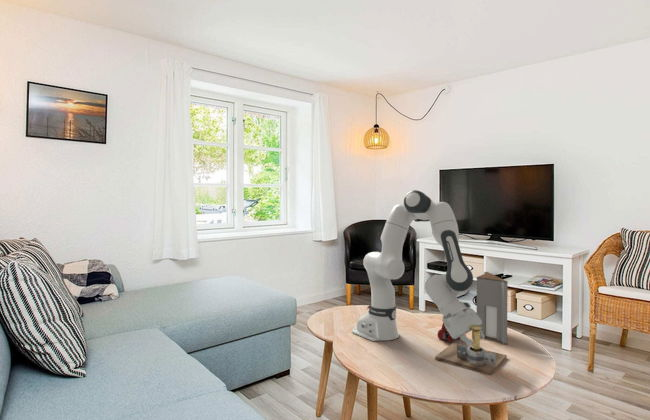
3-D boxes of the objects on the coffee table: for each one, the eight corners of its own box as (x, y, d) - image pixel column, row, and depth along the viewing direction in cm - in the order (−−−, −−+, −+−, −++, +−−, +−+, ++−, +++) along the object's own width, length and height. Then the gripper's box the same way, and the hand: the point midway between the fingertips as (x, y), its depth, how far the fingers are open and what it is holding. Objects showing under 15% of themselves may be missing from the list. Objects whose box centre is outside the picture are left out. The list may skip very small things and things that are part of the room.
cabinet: (507, 344, 173) (507, 281, 172) (485, 344, 173) (485, 281, 172) (487, 328, 194) (487, 271, 193) (467, 328, 194) (467, 272, 193)
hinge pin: (468, 361, 154) (468, 326, 153) (473, 358, 156) (474, 323, 156) (477, 364, 150) (478, 328, 150) (483, 362, 153) (483, 326, 153)
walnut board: (435, 359, 159) (435, 356, 159) (453, 345, 173) (453, 342, 173) (491, 375, 145) (491, 371, 145) (506, 358, 159) (506, 355, 159)
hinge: (454, 359, 156) (454, 347, 155) (460, 354, 160) (460, 342, 160) (492, 369, 146) (492, 356, 146) (497, 364, 151) (497, 351, 151)
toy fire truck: (434, 340, 180) (434, 317, 179) (450, 333, 187) (450, 312, 187) (447, 344, 174) (447, 321, 174) (463, 337, 182) (463, 315, 182)
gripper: (445, 312, 150) (470, 344, 144) (470, 302, 164) (494, 330, 158) (435, 321, 154) (458, 353, 147) (460, 310, 168) (483, 338, 161)
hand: (477, 341), depth 153 cm, fingers open, 8 cm apart
